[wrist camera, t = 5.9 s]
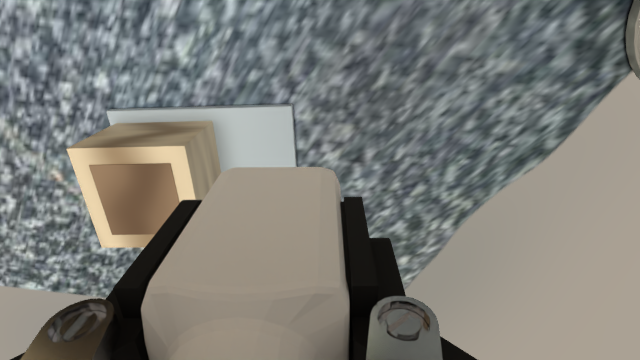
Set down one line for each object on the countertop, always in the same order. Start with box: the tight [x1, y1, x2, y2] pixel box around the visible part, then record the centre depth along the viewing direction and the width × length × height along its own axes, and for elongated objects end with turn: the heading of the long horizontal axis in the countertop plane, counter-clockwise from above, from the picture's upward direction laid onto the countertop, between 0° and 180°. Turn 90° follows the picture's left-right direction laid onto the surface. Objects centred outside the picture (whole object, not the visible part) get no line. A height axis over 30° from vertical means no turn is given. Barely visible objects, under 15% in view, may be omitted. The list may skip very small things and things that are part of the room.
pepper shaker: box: [141, 167, 350, 360], centre depth 8 cm, size 4×4×10 cm
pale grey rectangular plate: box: [107, 104, 297, 172], centre depth 31 cm, size 15×12×1 cm
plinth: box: [67, 121, 221, 248], centre depth 28 cm, size 8×8×6 cm
